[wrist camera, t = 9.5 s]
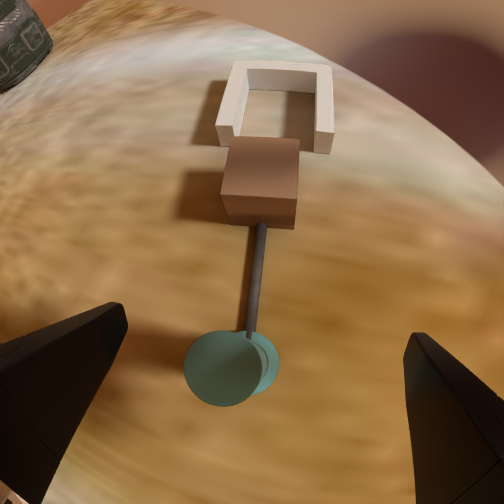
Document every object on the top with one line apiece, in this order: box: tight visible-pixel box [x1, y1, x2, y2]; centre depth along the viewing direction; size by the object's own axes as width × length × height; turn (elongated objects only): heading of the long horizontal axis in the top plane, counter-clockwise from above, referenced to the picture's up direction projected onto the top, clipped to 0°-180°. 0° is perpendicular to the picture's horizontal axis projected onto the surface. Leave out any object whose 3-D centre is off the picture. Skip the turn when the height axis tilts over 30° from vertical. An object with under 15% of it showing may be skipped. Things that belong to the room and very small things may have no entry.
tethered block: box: [184, 136, 300, 407], centre depth 19 cm, size 18×5×10 cm, turn 174°
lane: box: [215, 61, 334, 154], centre depth 27 cm, size 10×10×3 cm
